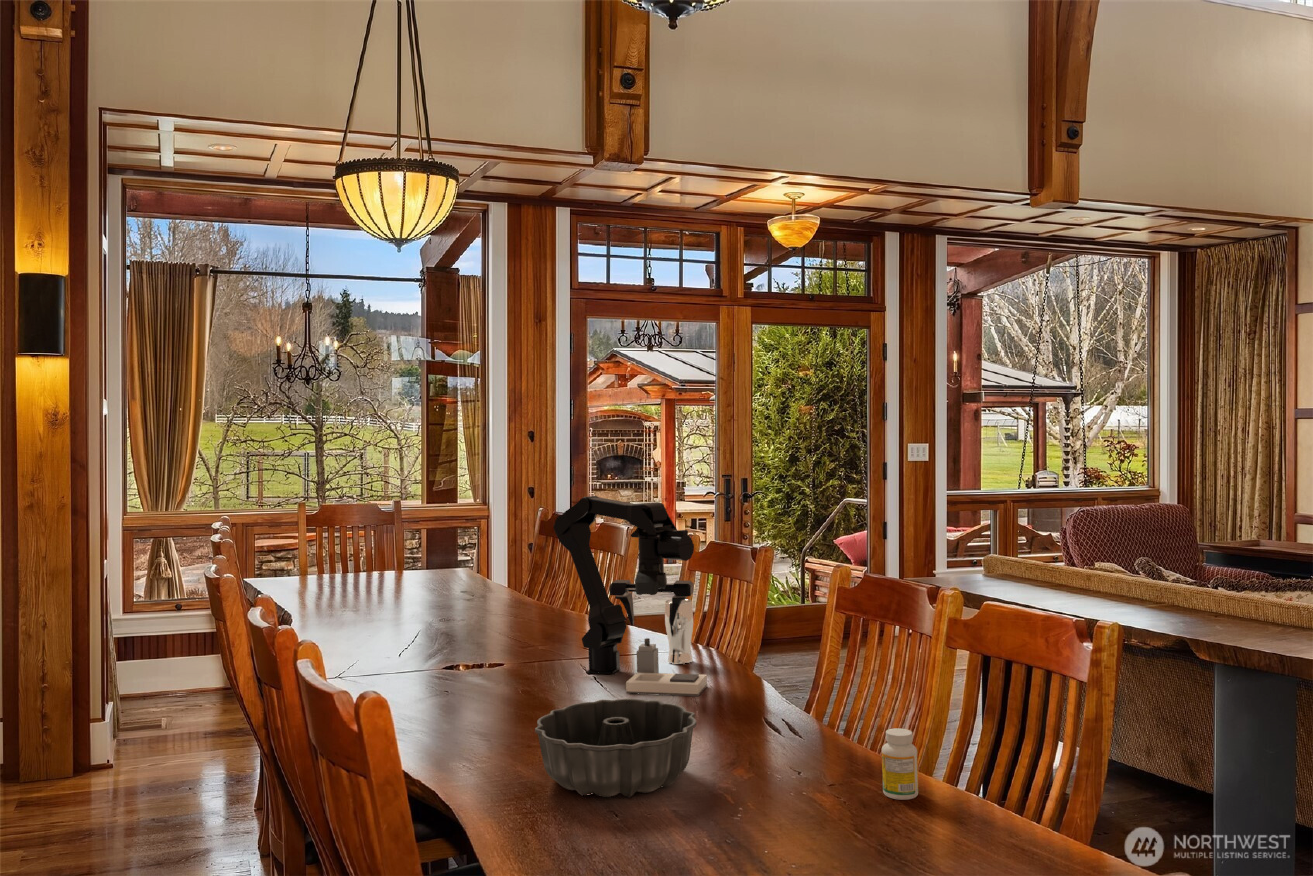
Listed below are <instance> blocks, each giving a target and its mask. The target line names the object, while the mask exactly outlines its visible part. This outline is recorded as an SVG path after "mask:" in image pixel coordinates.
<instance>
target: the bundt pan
mask: <svg viewBox="0 0 1313 876" xmlns="http://www.w3.org/2000/svg"><path fill="white" fill-rule="evenodd" d="M695 717H696V713H695V712H693V711H688V710H687V709H686V708H685V706H682V705H679V704H676V703H675V704H674V703H667V702H663V701H662V700H658V699H657V700H656V699H655V700H646V699H643V698H642V699H641V698H620V699H619V698H618V699H599V700H595V701H586V702H577V703H573V704H569V705H567V706H565V707H562V708H556V709H553V710H551V711H550V713H548V714H545V715H544V716H543V715H542V716H541V717H539V718H538V719H537V720H536V721H537V722H536V724H537V727H535V728H534V733H535V734H537V736H538V742H539V748H540V753H541V758H542V762H543V767H544V769H545V771H546V773H547V775H548V776H549V777H550V778H551V779H552V780H554V781H555V782H557V783H558V785H559V786H561V787H562V788H564V789H566V790H569V791H573V790H576V792H577V794H580V795H581V796H583V795H587V794H591V793H594V795H597V796H599V797H601V796H602V797H601V798H611V796H612V797H615V796H616V795H618V794H621V795H623V796H625V797H626V796H628V797H627V798H631V797H632V796H633V795H634V794H635V793H637V792H639V793H641V792H642V793H641V794H647V793H652V792H654V791H656V790H657V789H659V788H666V786H667V787H669V786H671V785H672V784H674V783H675V782H676V781H677V779H678V777H679V776H680V775H681V774H682V773H683V772H684V771H685V770H686V768H687V766H688V763H689V761H690V757H691V748H692V739H693V732H694V729H695V728H696V727H697V719H696V718H695ZM661 786H663V787H661Z"/></svg>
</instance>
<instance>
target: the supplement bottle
mask: <svg viewBox="0 0 1313 876" xmlns="http://www.w3.org/2000/svg"><path fill="white" fill-rule="evenodd" d="M913 738H914V737H913V731H912V730H909V729H907V728H906V729H905V728H900V727H899V728H895V727H894V728H890V729H886V731H885V740H886V743H884V745H882V747H881V771H882V772H881V773H882V775H881V777H882V792H883V794H884V796H885V797H888V798H890V799H893V800H899V801H900V800H901V801H907V800H912V799H915V798H916V797H917V796H918V795H919V763H918V761H919V759H918V748H917V747H916V746H915V745H914V744H913V740H914V739H913Z"/></svg>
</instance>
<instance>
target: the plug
mask: <svg viewBox="0 0 1313 876" xmlns="http://www.w3.org/2000/svg"><path fill="white" fill-rule="evenodd" d="M643 640H644V643H641V644H640V645H639V646H638V650H636V673H660V671H659V664H660V663H659V648H658V647H657V644H656V643H650V642H651V639H650V638H648V637H646V638H644V639H643Z"/></svg>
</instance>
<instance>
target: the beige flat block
mask: <svg viewBox="0 0 1313 876" xmlns="http://www.w3.org/2000/svg"><path fill="white" fill-rule="evenodd" d="M706 686H708V675H707V674H696V673H695V674H694V673H661V672H659V673H637V672H636V673H635V674H634V675H632V677H630V678H629V679H628V680H627V681H626V682H625V688H626V689H625V691H626V693H637V694H636V695H648V694H659V695H658V696H675V695H676V696H679V697H699V696H700V695H701V694H702V693H703V691H704V690H705V689H706V688H707V687H706ZM705 687H706V688H705ZM701 692H702V693H701ZM626 693H625V694H626ZM638 693H639V694H638ZM700 693H701V694H700Z"/></svg>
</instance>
